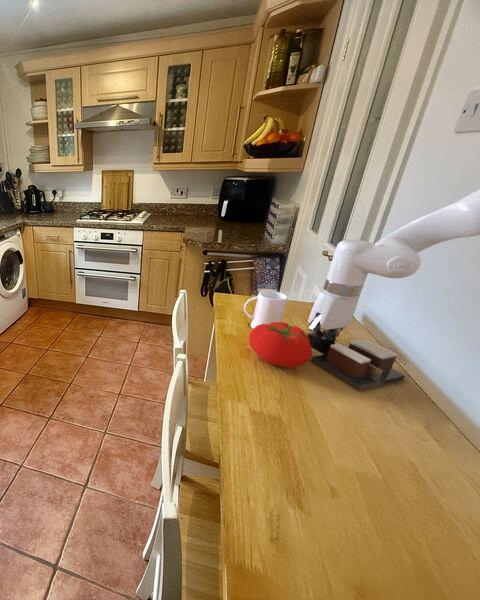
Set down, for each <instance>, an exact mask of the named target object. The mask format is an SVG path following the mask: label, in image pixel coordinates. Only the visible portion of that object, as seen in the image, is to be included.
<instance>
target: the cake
mask: <svg viewBox="0 0 480 600" xmlns="http://www.w3.org/2000/svg"><path fill="white" fill-rule="evenodd" d="M348 348H350V349H351V350H353V351H355V352H357V353H359V354H361V355H363V356H365V357H367V358H369V359H371V361H370V364H371V365H373V366H375V367H376V368H378V369H380V370H382V371H383V372H386V371H390V370H391V368H392V369H393V366H394V364H395V361H396V359H397V356H398V355H399V354H398V353H397V352H394V351H393V350H390V349H388V348H386V347H384V346H382V345H379V344H377V343H375V342H373V341H371V340H369V339H367V338H360V339H355V340H350V342H349V345H348Z"/></svg>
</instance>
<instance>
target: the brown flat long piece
mask: <svg viewBox="0 0 480 600" xmlns="http://www.w3.org/2000/svg"><path fill="white" fill-rule="evenodd" d="M314 336H315V335H314V333H313V332H311V333H307V337H308V338H309V340H310V346H311V345H312V342H313V339H314ZM325 339H326V338H325ZM333 344H337V343H336V342H335V343H334V342H332V341H330V340H328V339H327V342H326V344H325V347H324V350H323V352H320V351H318V350H316V349H315V348H313V347H312V346H311V349H313V350H315V351H317V352H318V353H320V354H321V355H326V356H327V354H328V351H329V348H330V346H331V345H333ZM382 373H383V371H382V370H380V369H378V368H376V367H375V366H373V365H371V364H369V366H368V368H367V371H366V373H365V375H366V376H368V377H369V378H371V379H373V380H375V381H377V382H379V380H380V378H381V375H382Z"/></svg>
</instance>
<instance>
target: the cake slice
mask: <svg viewBox="0 0 480 600" xmlns="http://www.w3.org/2000/svg"><path fill="white" fill-rule="evenodd" d="M348 347H349V346H348ZM348 347H347V346H345V345H343V344H342V343H336V344H333V345H331V346H330V348H329V351H328V354H327V357H326V360H325V361H326V362H328V363H330V364H331V365H333V366H335V367H336V368H338V369H340V370H341V371H343V372H345V373H347V374H348V375H350V376H352V377H353V378H360V377H364V376H365V373H366V371H367V368H368V366H369V364H370V361H371V359H369V358H367V357H365V356H363V355H361V354H359V353H357V352H355V351H353V350H351V349H350V348H348Z"/></svg>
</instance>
